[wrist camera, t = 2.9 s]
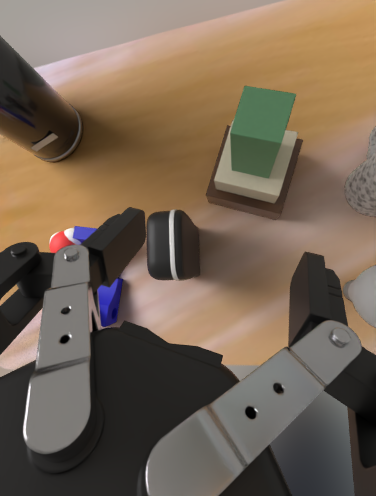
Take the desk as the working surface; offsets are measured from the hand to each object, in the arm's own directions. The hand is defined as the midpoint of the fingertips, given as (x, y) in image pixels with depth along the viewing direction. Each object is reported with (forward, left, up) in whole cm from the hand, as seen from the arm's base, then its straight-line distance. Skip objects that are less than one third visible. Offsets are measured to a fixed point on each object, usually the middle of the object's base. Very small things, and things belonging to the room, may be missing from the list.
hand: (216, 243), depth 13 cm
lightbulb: (+13, +7, -21) cm, 25 cm away
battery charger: (-5, -3, -21) cm, 21 cm away
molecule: (-18, -13, -21) cm, 30 cm away
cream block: (-5, +10, -17) cm, 20 cm away
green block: (-5, +10, -14) cm, 18 cm away
